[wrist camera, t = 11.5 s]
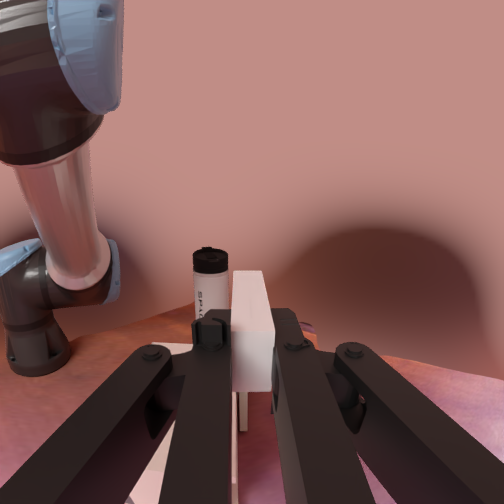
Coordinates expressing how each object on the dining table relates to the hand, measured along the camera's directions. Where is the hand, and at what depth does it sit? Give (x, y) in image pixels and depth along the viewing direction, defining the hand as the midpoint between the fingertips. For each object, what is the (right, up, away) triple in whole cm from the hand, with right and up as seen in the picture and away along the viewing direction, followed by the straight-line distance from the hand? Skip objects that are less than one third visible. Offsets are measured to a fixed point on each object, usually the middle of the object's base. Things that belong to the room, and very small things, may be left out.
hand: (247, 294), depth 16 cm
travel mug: (-7, -17, +40) cm, 44 cm away
